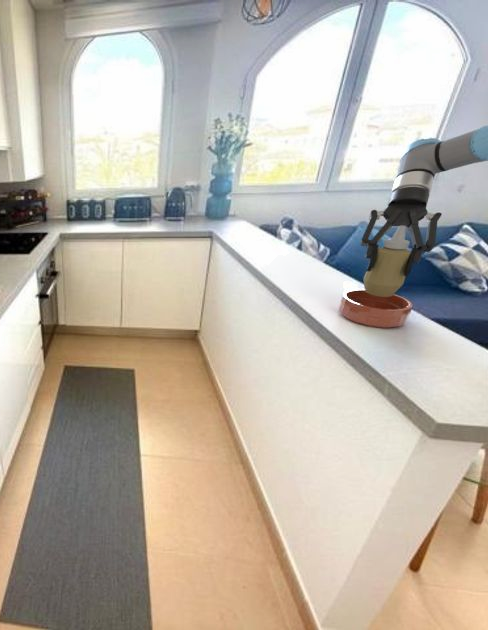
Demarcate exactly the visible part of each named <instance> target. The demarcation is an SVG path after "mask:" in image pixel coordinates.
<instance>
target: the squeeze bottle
mask: <svg viewBox="0 0 488 630" xmlns="http://www.w3.org/2000/svg"><path fill="white" fill-rule="evenodd" d="M406 232H407V227H406V226H398V227H397V229H396V230H395V232H394V234H393V235H392V236H391V238H386V239H385V240H384V242H383V244H382V246H380V247H378V249H377V253H376V256H375V259H374V263H373V266H372V269H371V271H370V272H369V271H367V270H366V272H365V274H364V276H363V287H364V288H363V289H365V292H366V293H368V294H371V295H375V296H380V297H390V296H392V295H394V294H396V292H398V291H399V289H400V288H402V286H403V285H404V283H405V279H406V276H404V272H405V269H406V266H407V263H408V260H409V258H410V255H411V250H409V249H408V248H409V246H410V244H411V242H410V240H407V239H406Z"/></svg>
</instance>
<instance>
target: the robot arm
mask: <svg viewBox="0 0 488 630" xmlns="http://www.w3.org/2000/svg"><path fill="white" fill-rule="evenodd" d="M398 162H399V165H398V168H397V169H398V170H397V172H396V177H395V179H394V181H393V185H392V189H391V192H390V195H389V199H388V202H387V205H386V207H385V208H384V209H383V210H377V209H372V210H371V211H370V214H369V216H368V218H369V222H368V224H367V226H366V229H365V231H364V233H363V236H362V238H361V240H360V243H359V245H360V246H361V247H366V253H365V255H364V257H365V259H369V262H368V264H367V268H366V271H369V272H370V271H371V269H372V266H373V263H374V259H375V256H376V253H377V249H378V248H379V246H380V244H378V243H379V242H380V241H381V240H382V239H383V237H384V236H385V235H386V234H388V232H389V230H391V229H392V227H399V226H406V229H407V231H408V233H409V238H410V241H411V244H412V249H411V250H410V252H411V255H410V258H409V260H408V263H407V266H406V269H405V272H404V276H405V277H408V276H409V275H410V274H411V271H412V268H413V264H416V265H417V264H418V263H419V262H420V260H421V259H422V254H423V253H425V252H426V253H430V252H432V250H433V249H434V247H435V246H436V239H437V230H438V222H439V220H440V219H441V217H442V214H443V213H441V212H436V213H432V212H429V211H428V209H427V207H428V202H429V199H430V193H431V191H432V187H433V184H434V179H435V178H436V177H435V176H436V174H440V173H443V172H447V171H450V170H454V169H458V168H462V167H465V166H468V165H473V164H478V163H483V162H488V125H483V126H482V127H480V128H477V129H474V130H472V131H468V132H466V133H463V134H460V135H457V136H453V137H451V138H449V139H446V140H440V139H438V138H435V137H428V138H419V139H416V140H415V141H412V142H411V143H409V144H408V145H407V146H406V147H405V149H404V150H403V153H402V155H401V157H400V159H399V161H398ZM381 217H383V218H384V220H385V221H386V222H385V223H384V224H383V226H382V227H381V228H380V229H379V230H378V231H377V233H376V234H375V235H374V236H373V237H372V238H371V239H370V237H371V234H372V231H373V229H374V227H375V225H376V223H377V221H378V220H379V219H381ZM423 219H425V221H426V223H427V228H426V234H425V235H426V236H425V243H424V241H423V236H422V234H421V233H422V232H421V229H420V227H419V222H420V221H422V220H423Z"/></svg>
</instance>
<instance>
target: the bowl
mask: <svg viewBox="0 0 488 630" xmlns="http://www.w3.org/2000/svg"><path fill="white" fill-rule="evenodd" d="M413 307H414V305H413V302H412V301H410V300H409V299H408V298H405V297H403V296H401V295H398V294H396V293H394V295H392V296H390V297H380V296H375V295H371V294H368V293H366V292H365V288H358V289H357V288H356V289H349V290H346V291H344V292H343V293H342V296H341V300H340V303H339V307H338V312H339V314H341V315H342V316H343V317H344V318H345V319H347V320H349V321H351V322H354V323H356V324H359V325H363V326H367V327H373V328H383V329H384V328H385V329H386V328H387V329H389V328H395V327H401V326H404V325H405V324H406V323H407V321H408V320H409V318H410V314H411V312H412V310H413Z"/></svg>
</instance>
